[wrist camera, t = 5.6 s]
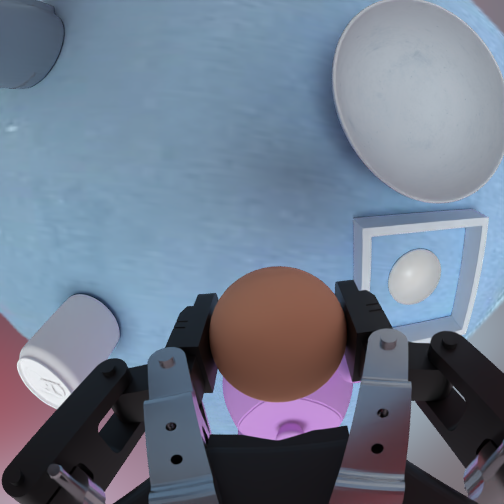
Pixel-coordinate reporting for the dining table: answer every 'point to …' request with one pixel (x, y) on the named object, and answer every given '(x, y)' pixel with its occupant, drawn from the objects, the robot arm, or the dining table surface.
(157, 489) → the robot arm
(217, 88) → the dining table surface
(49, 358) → the beverage can
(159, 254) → the dining table surface
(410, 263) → the disc
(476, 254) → the grey square frame
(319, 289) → the ball
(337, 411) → the teapot
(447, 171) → the chinaware
